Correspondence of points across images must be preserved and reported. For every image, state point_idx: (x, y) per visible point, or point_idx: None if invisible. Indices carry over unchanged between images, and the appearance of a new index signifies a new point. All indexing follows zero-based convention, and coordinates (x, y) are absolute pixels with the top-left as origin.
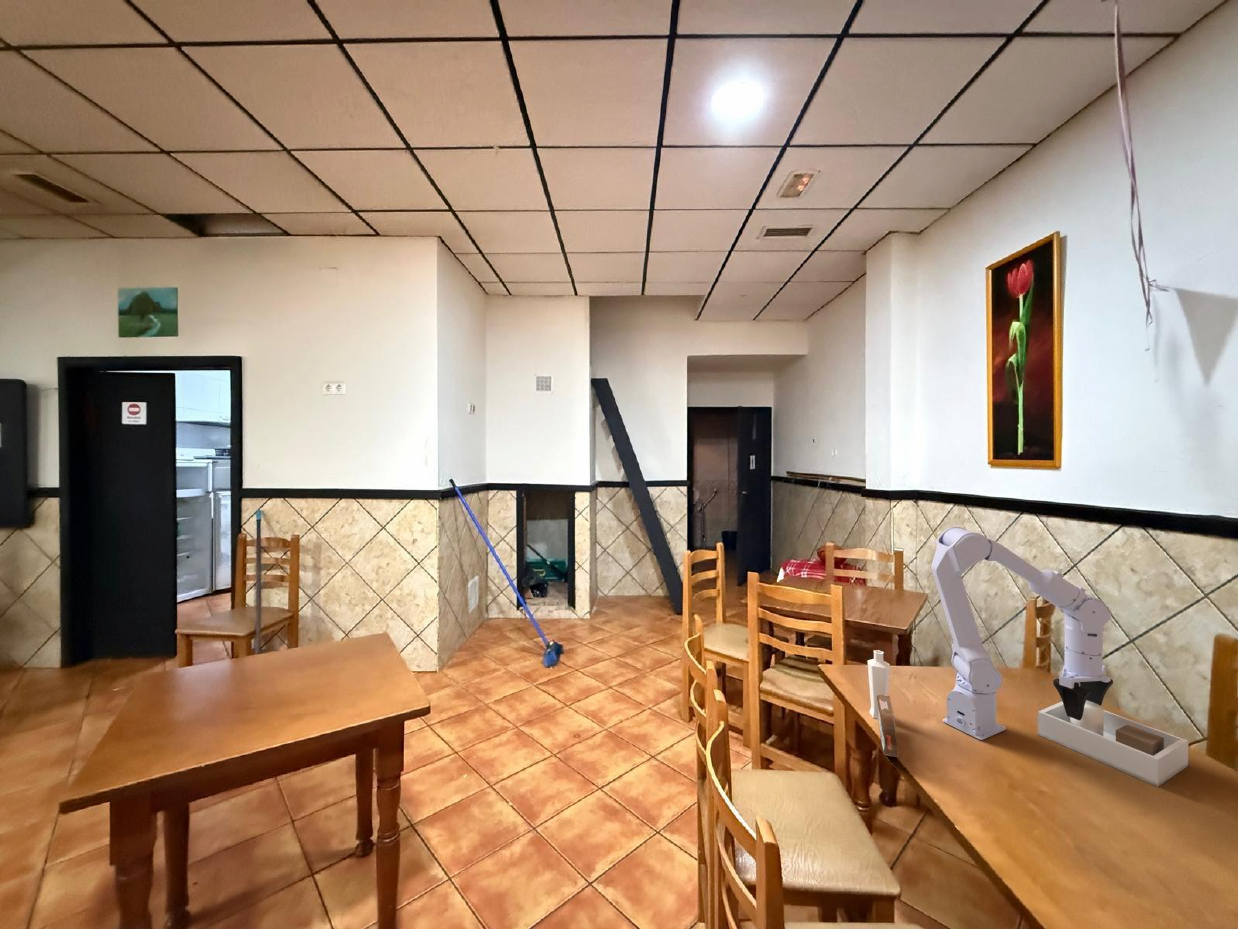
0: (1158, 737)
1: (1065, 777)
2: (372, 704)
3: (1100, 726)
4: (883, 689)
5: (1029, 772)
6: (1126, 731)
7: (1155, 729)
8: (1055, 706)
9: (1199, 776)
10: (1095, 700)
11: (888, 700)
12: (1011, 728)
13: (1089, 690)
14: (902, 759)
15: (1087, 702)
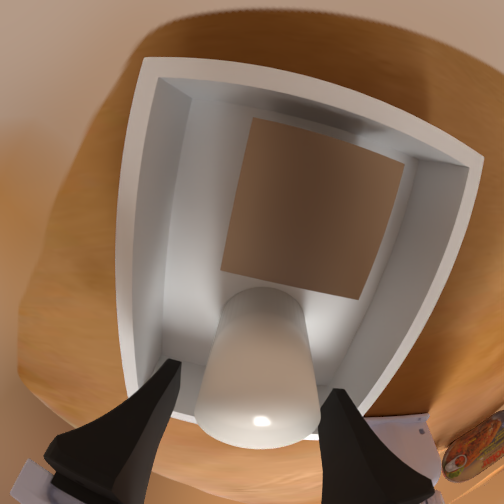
0: (279, 137)
1: (488, 306)
2: (494, 472)
3: (287, 334)
4: None
5: (492, 342)
6: (334, 265)
7: (132, 168)
8: None
9: (237, 56)
10: (163, 403)
11: (479, 472)
12: None
13: (151, 446)
14: (498, 408)
15: (221, 421)
